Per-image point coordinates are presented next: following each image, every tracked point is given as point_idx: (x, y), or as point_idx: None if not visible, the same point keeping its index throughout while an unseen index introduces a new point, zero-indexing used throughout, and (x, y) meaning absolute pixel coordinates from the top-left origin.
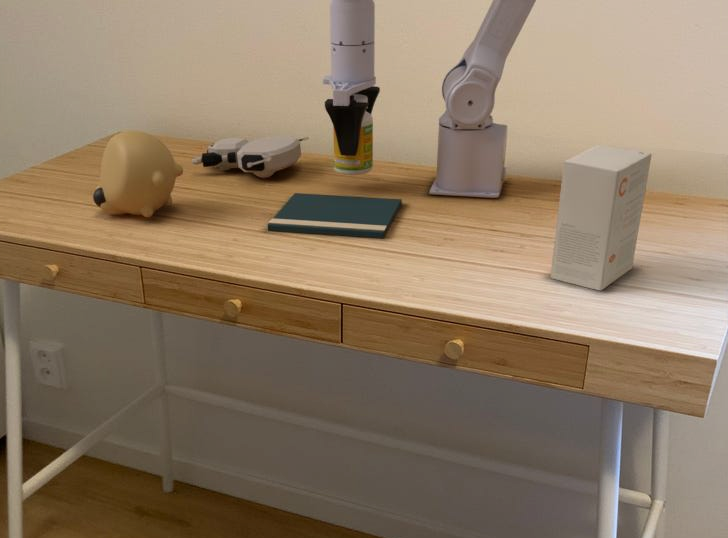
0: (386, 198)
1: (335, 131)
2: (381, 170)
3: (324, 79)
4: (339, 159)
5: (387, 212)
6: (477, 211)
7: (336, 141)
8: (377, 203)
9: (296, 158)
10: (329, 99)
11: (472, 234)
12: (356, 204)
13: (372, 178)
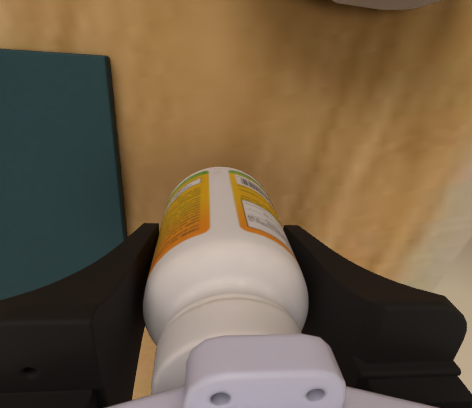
0: None
1: (103, 257)
2: (362, 226)
3: (189, 392)
4: (170, 204)
5: None
6: (134, 394)
7: (173, 220)
8: None
9: (353, 3)
10: (76, 335)
11: None
12: (63, 233)
13: (303, 218)
